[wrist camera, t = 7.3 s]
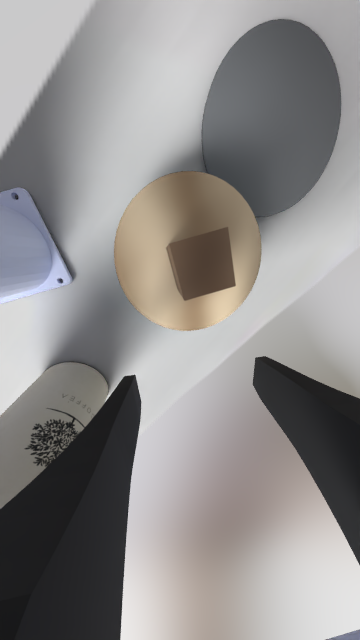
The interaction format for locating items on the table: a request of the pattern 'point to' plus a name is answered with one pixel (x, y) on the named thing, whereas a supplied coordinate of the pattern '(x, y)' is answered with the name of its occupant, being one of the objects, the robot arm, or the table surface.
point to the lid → (187, 250)
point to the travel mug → (46, 422)
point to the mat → (272, 115)
